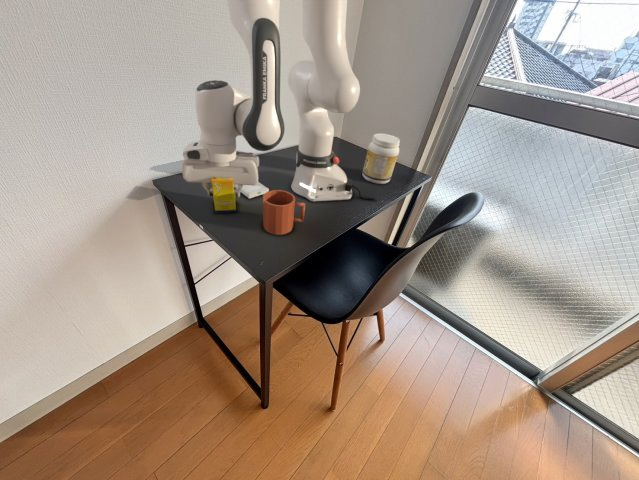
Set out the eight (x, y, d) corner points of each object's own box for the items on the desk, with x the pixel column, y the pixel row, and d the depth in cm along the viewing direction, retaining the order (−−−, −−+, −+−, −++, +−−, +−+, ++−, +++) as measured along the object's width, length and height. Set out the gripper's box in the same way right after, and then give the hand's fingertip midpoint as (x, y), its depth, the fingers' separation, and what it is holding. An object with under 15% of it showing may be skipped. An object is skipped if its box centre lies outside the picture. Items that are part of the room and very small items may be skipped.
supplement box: (215, 202, 85) (211, 170, 79) (235, 202, 87) (232, 170, 80) (215, 213, 81) (210, 179, 74) (236, 212, 83) (233, 179, 76)
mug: (262, 234, 76) (262, 205, 70) (263, 217, 82) (263, 189, 77) (304, 235, 78) (307, 207, 72) (302, 218, 84) (304, 191, 79)
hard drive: (228, 179, 95) (248, 194, 88) (248, 174, 100) (269, 188, 93) (228, 183, 96) (248, 199, 89) (248, 178, 101) (269, 192, 94)
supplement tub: (362, 169, 120) (371, 130, 109) (389, 174, 119) (401, 135, 109) (360, 181, 110) (370, 139, 100) (390, 187, 109) (403, 145, 99)
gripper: (259, 148, 77) (260, 192, 86) (182, 143, 73) (190, 188, 82) (258, 157, 72) (259, 202, 81) (175, 151, 69) (185, 199, 77)
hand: (224, 195), depth 81 cm, fingers closed on supplement box, 6 cm apart
